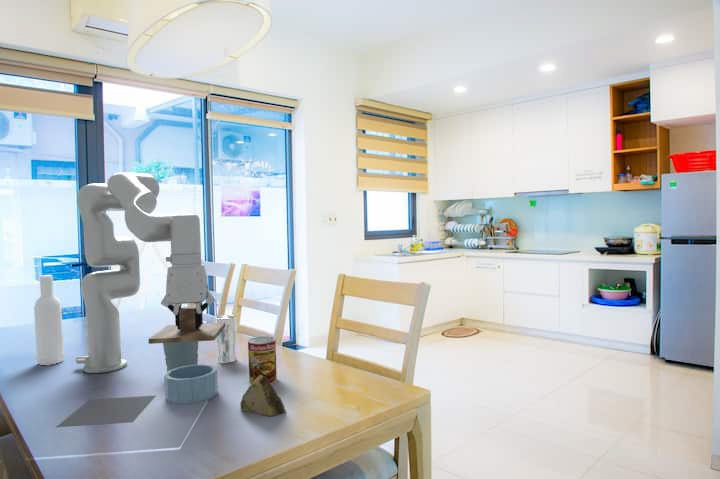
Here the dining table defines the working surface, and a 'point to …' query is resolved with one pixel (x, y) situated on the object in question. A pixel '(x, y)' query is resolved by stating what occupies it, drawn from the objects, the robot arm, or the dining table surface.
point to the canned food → (262, 358)
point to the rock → (262, 398)
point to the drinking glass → (180, 354)
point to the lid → (187, 329)
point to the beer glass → (227, 339)
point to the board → (108, 411)
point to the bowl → (191, 383)
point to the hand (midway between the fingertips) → (189, 327)
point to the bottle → (48, 325)
